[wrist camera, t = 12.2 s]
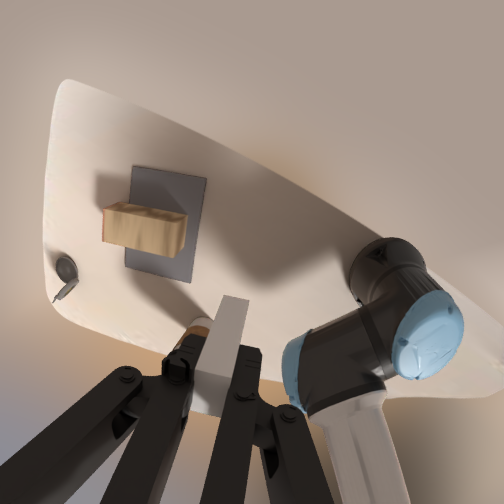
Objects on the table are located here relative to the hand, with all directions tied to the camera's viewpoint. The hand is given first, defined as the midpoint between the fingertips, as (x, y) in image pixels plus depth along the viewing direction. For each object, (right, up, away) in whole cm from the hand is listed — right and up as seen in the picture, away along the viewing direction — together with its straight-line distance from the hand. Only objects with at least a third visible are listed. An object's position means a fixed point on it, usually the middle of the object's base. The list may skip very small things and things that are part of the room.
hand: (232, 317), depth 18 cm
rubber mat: (-15, +9, +37) cm, 41 cm away
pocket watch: (-40, -1, +44) cm, 59 cm away
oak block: (-25, +9, +34) cm, 43 cm away
